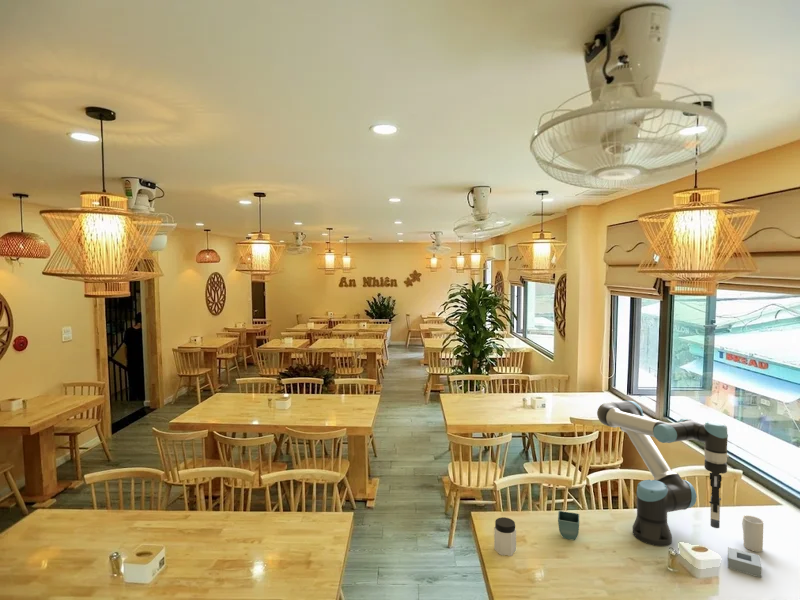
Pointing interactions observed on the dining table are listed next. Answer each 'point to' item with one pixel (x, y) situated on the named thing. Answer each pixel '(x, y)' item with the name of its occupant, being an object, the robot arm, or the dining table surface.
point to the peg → (715, 522)
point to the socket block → (744, 562)
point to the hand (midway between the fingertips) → (715, 517)
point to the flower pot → (568, 524)
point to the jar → (505, 536)
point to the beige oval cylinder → (753, 533)
